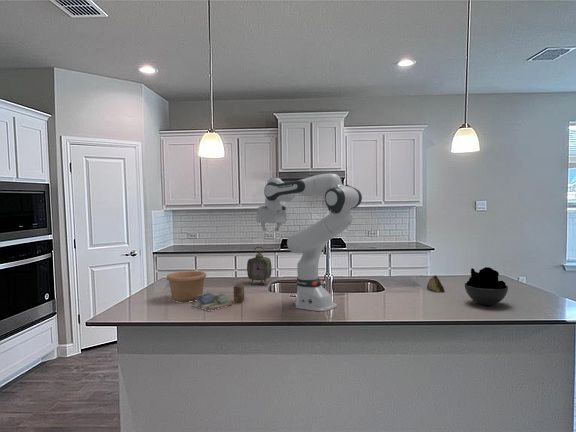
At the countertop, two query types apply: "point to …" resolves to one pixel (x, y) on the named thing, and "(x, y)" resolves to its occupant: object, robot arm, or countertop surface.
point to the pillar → (238, 293)
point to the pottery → (186, 285)
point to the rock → (435, 284)
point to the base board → (210, 306)
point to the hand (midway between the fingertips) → (270, 231)
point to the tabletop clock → (259, 267)
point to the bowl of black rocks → (486, 287)
